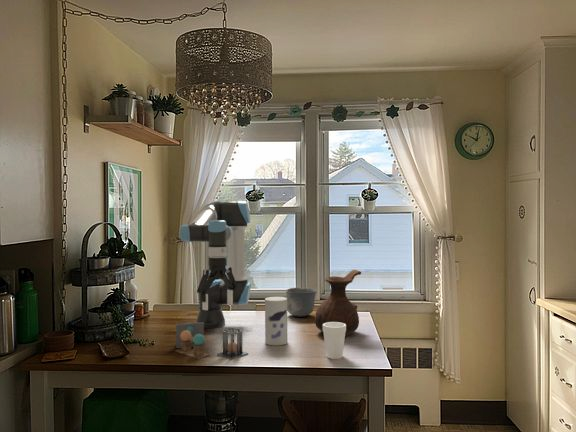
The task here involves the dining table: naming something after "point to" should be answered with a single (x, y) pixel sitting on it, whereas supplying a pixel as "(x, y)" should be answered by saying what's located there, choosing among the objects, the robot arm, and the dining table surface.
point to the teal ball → (198, 339)
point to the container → (276, 320)
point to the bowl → (300, 301)
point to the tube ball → (233, 347)
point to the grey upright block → (192, 327)
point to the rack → (192, 350)
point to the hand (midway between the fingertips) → (217, 307)
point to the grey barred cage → (225, 344)
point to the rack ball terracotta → (185, 335)
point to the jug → (338, 305)
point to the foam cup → (334, 339)
